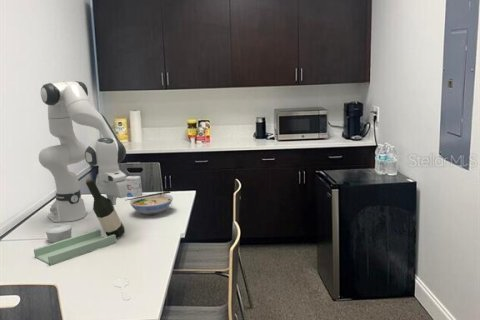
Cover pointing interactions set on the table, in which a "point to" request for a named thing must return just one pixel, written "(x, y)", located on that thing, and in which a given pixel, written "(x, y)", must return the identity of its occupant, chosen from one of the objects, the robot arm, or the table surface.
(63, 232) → the ramekin
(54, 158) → the robot arm
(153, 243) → the table surface
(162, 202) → the ramen bowl
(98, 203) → the wine bottle
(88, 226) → the table surface
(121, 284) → the spoon
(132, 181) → the ink box
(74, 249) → the tray
